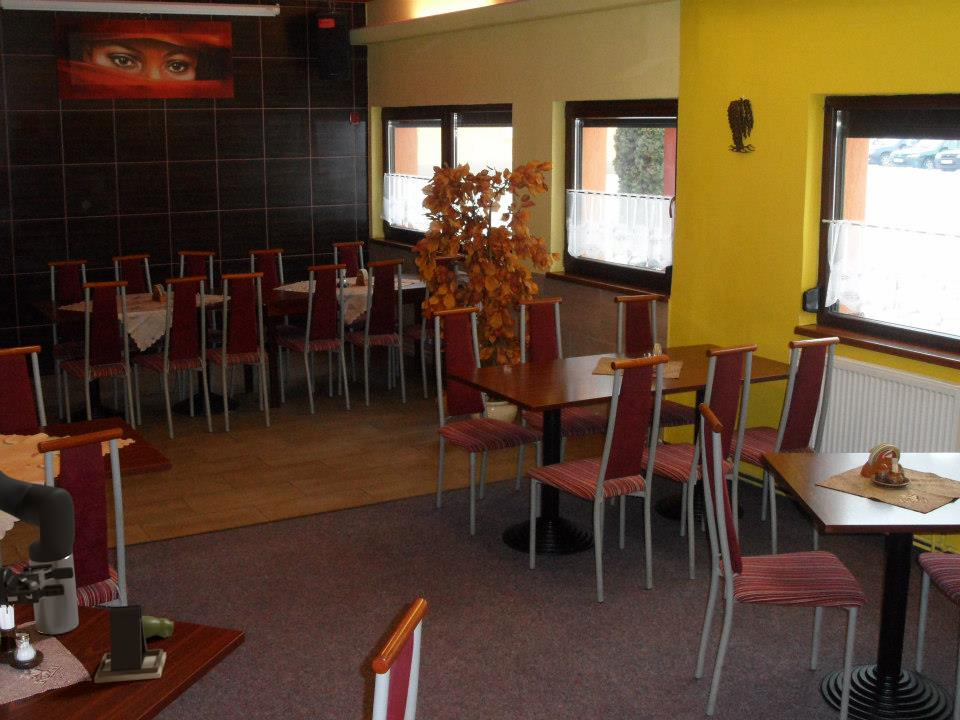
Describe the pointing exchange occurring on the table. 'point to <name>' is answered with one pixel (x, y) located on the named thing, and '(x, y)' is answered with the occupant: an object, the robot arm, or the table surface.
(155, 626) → the pear
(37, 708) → the table surface
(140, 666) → the phone stand
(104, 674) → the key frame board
